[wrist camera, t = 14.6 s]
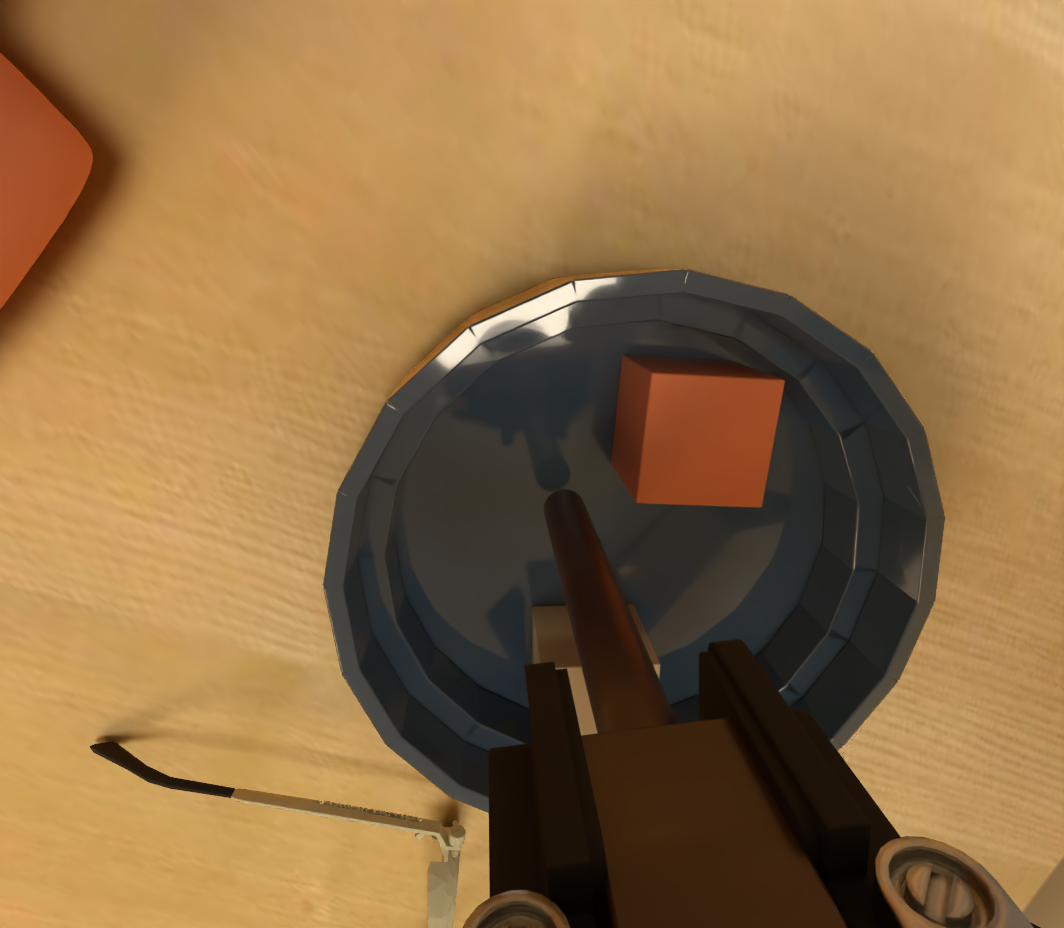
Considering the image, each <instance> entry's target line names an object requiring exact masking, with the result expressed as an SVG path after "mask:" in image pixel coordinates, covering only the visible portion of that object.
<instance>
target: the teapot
mask: <svg viewBox="0 0 1064 928" xmlns="http://www.w3.org/2000/svg"><path fill="white" fill-rule="evenodd" d="M92 161H93V155H92V150H91V147H90V146H89V145H88V143H87V142H86V141H85V140H84V138H83V137H82V136H81V134H80V133H79V132H78V131H77V129H76V128H75V127H74V126H73V125H72V124H71V123H70V122H69V121H68V120H67V119H66V118H65V117H64V116H63V115H62V114H61V113H60V112H59V111H58V110H57V109H56V108H55V106H54V105H53V104H52V103H51V102H50V101H49V100H48V99H47V98H46V97H45V96H44V95H43V94H42V93H41V92H40V91H39V90H38V89H37V88H36V87H35V86H34V85H33V84H32V83H31V82H30V81H29V80H28V79H27V78H26V77H25V76H24V75H23V74H22V73H21V72H20V71H19V70H18V69H17V68H16V67H15V66H14V65H13V64H12V63H11V62H10V61H9V60H8V59H7V58H6V57H5V56H4V55H2V54H1V53H0V309H1V308H2V307H3V305H4V304H5V303H6V301H7V300H8V298H9V297H10V296H11V294H12V293H13V292H14V290H15V289H16V288H17V286H18V285H19V283H20V282H21V281H22V279H23V278H24V276H25V275H26V274H27V272H28V271H29V269H30V268H31V267H32V265H33V264H34V262H35V261H36V260H37V258H38V257H39V255H40V254H41V252H42V251H43V250H44V248H45V247H46V245H47V244H48V242H49V241H50V240H51V238H52V237H53V235H54V234H55V232H56V231H57V229H58V228H59V227H60V225H62V223H63V222H64V220H65V219H66V217H67V215H68V212H69V211H70V209H71V208H72V206H73V204H74V203H75V201H76V200H77V198H78V196H79V195H80V193H81V191H82V189H83V187H84V184H85V182H86V180H87V178H88V176H89V174H90V171H91V166H92Z"/></svg>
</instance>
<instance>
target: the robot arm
mask: <svg viewBox="0 0 1064 928" xmlns="http://www.w3.org/2000/svg"><path fill="white" fill-rule="evenodd" d="M525 674H526V684H527V694H528V703H529V713H530V722H531V732H532V742H533V743H529V744H521V745H513V746H505V747H497V748H489V754H488V767H489V864H490V898H489V899H488V900H486V901H485V902H483V903H482V904H480V905H479V906H478V907H477V908H476V909H475V910H474V912H473V913H472V914H471V915H470V916H469V917H468V919H467V920H466V922H465V924H464V926H463V928H608V926H607V912H606V898H605V884H604V883H605V881H606V879H608V869H607V861H606V854H605V848H604V842H603V837H602V832H601V827H600V823H599V818H598V813H597V808H596V804H595V799H594V794H593V789H592V785H591V780H590V775H589V770H588V766H587V761H586V756H585V751H584V746H583V742H582V737H581V732H580V727H579V723H578V718H577V713H576V708H575V704H574V699H573V694H572V689H571V685H570V680H569V675H568V671H567V668H565V669H557V670H556V668H555V663H554V661H553V662H544V663H536V664H528V665H525ZM724 717H730V718H731V720H732V722H733V723H734V725H735V727H736V729H737V731H738V733H739V734H740V736H741V738H742V740H743V742H744V743H745V745H746V747H747V749H748V751H749V753H750V754H751V756H752V758H753V760H754V762H755V764H756V765H757V767H758V769H759V771H760V773H761V774H762V776H763V778H764V780H765V782H766V784H767V785H768V787H769V789H770V791H771V793H772V795H773V796H774V798H775V800H776V802H777V804H778V806H779V807H780V809H781V811H782V813H783V815H784V816H785V818H786V820H787V822H788V824H789V826H790V827H791V829H792V831H793V833H794V835H795V837H796V838H797V840H798V842H799V844H800V846H801V847H802V849H803V851H804V852H807V854H808V856H809V858H810V859H811V861H812V863H813V865H814V867H815V868H816V870H817V872H818V874H819V876H820V877H821V879H822V881H823V883H824V885H825V886H826V888H827V890H828V892H829V894H830V896H831V897H832V899H833V901H834V903H835V905H836V906H837V908H838V910H839V912H840V914H841V915H842V917H843V919H844V921H845V923H846V925H847V926H848V928H1040V927H1038V926H1036V925H1034V924H1032V923H1030V922H1029V921H1028V920H1027V919H1026V917H1025V916H1024V915H1023V913H1022V912H1021V911H1020V909H1019V908H1018V907H1017V906H1016V904H1015V903H1014V902H1013V901H1012V899H1011V898H1010V897H1009V896H1008V894H1007V893H1006V892H1005V890H1004V889H1003V888H1002V887H1001V885H1000V884H999V883H998V882H997V880H996V879H995V878H994V877H993V876H992V875H991V874H990V873H989V872H988V871H987V870H986V869H985V868H984V867H983V866H982V865H981V864H980V863H978V862H977V861H975V860H974V859H972V858H971V857H970V856H968V855H967V854H965V853H964V852H962V851H960V850H958V849H956V848H954V847H952V846H950V845H948V844H946V843H943V842H940V841H936V840H933V839H929V838H925V837H909V836H905V837H900V836H899V834H898V833H897V832H896V830H895V829H894V827H893V826H892V825H891V823H890V822H889V821H888V819H887V818H886V817H885V815H884V814H883V813H882V811H881V810H880V808H879V807H878V806H877V804H876V803H875V802H874V800H873V799H872V798H871V796H870V795H869V793H868V792H867V791H866V789H865V788H864V787H863V785H862V784H861V783H860V781H859V780H858V778H857V777H856V776H855V774H854V773H853V772H852V770H851V769H850V768H849V766H848V765H847V763H846V762H845V761H844V759H843V758H842V757H841V755H840V754H839V753H838V751H837V750H836V749H835V747H834V746H833V744H832V743H831V742H830V740H829V739H828V738H827V736H826V735H825V734H824V732H823V731H822V729H821V728H820V727H819V725H818V724H817V723H816V721H815V720H814V719H813V717H812V716H811V715H810V714H809V713H808V712H807V711H805V710H803V709H798V710H791V708H790V707H789V706H788V704H787V703H786V701H785V700H784V698H783V697H782V696H781V694H780V693H779V691H778V690H777V688H776V687H775V685H774V684H773V683H772V681H771V680H770V678H769V677H768V675H767V674H766V673H765V671H764V670H763V668H762V667H761V665H760V664H759V663H758V661H757V660H756V658H755V657H754V655H753V654H752V653H751V651H750V650H749V648H748V647H747V645H746V644H745V643H744V642H743V641H742V640H741V639H735V640H727V641H718V642H711V643H709V645H708V651H705V652H700V653H699V721H700V720H708V719H716V718H724Z"/></svg>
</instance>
